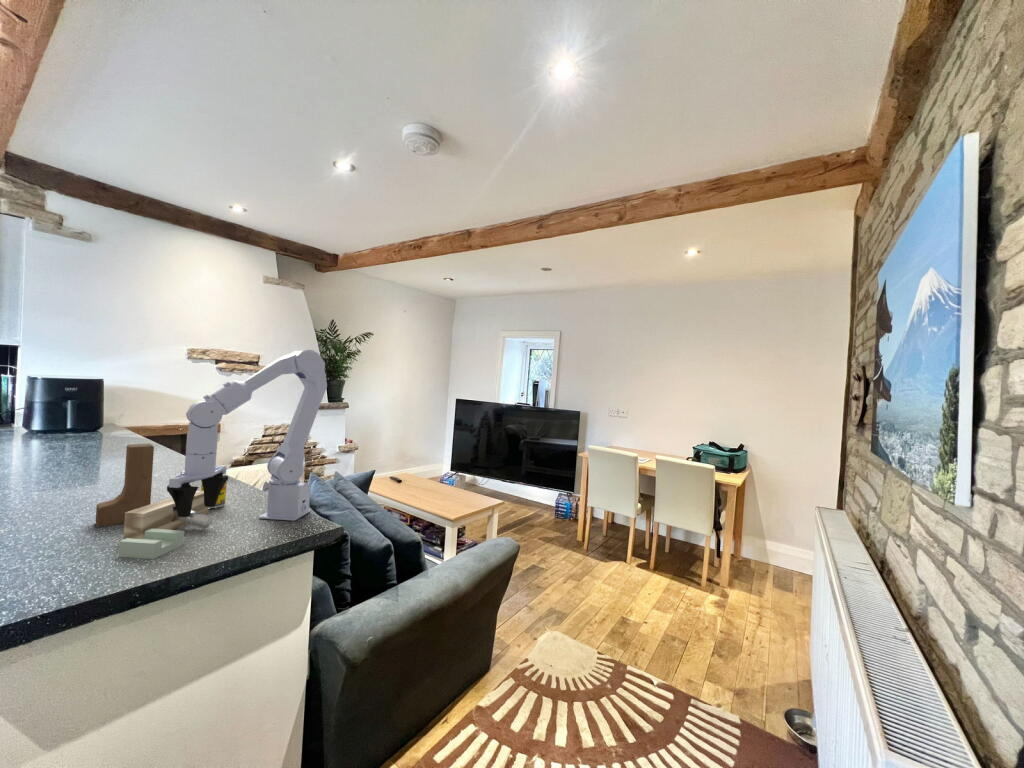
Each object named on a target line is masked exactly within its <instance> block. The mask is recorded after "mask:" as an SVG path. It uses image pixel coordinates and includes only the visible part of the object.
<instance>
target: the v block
mask: <svg viewBox="0 0 1024 768" xmlns="http://www.w3.org/2000/svg"><path fill="white" fill-rule="evenodd" d="M184 542H185V530H178V529H175V530H165V529H150V530H147V531H145V537H144V539H132V538H126V539H124V540H123V539H121V540H119V541H118V553H117V555H118V556H117V557H120V558H129V559H130V558H132V559H146V560H147V559H148V560H155V559H157V558H158V557H159V558H160V557H161V556H163V555H166V554H167V553H169V552H171V551H174V550H175V549H178V548H180V547H182V546H184Z"/></svg>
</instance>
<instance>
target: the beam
mask: <svg viewBox="0 0 1024 768" xmlns="http://www.w3.org/2000/svg"><path fill="white" fill-rule="evenodd" d="M175 506H176V505H175V503H174V500H173V498H172V497H169V498H167V499H163V500H160V501H157V502H153V503H150V505H147V506H144V507H141V508H138V509H135V510H131V511H128V512H125V521H124V523H123V539H122V540H124V539H126V538H132V539H144V537H145V531H147V530H150V529H165V530H174V529H175V530H178V529H179V528H182V527H184V526H186V524H187V525H189V524H188V523H185V522H181V521H178V520H175V519H172V516H173V507H175ZM191 510H192V511H196V512H199V513H202V514H205V515H209V514H208V513H209V509H208V507H206V506H205V505H204V491H201V490H197V491H196V493H195V495H194V498H193V502H192V509H191ZM183 525H184V526H183ZM181 526H182V527H181Z"/></svg>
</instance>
